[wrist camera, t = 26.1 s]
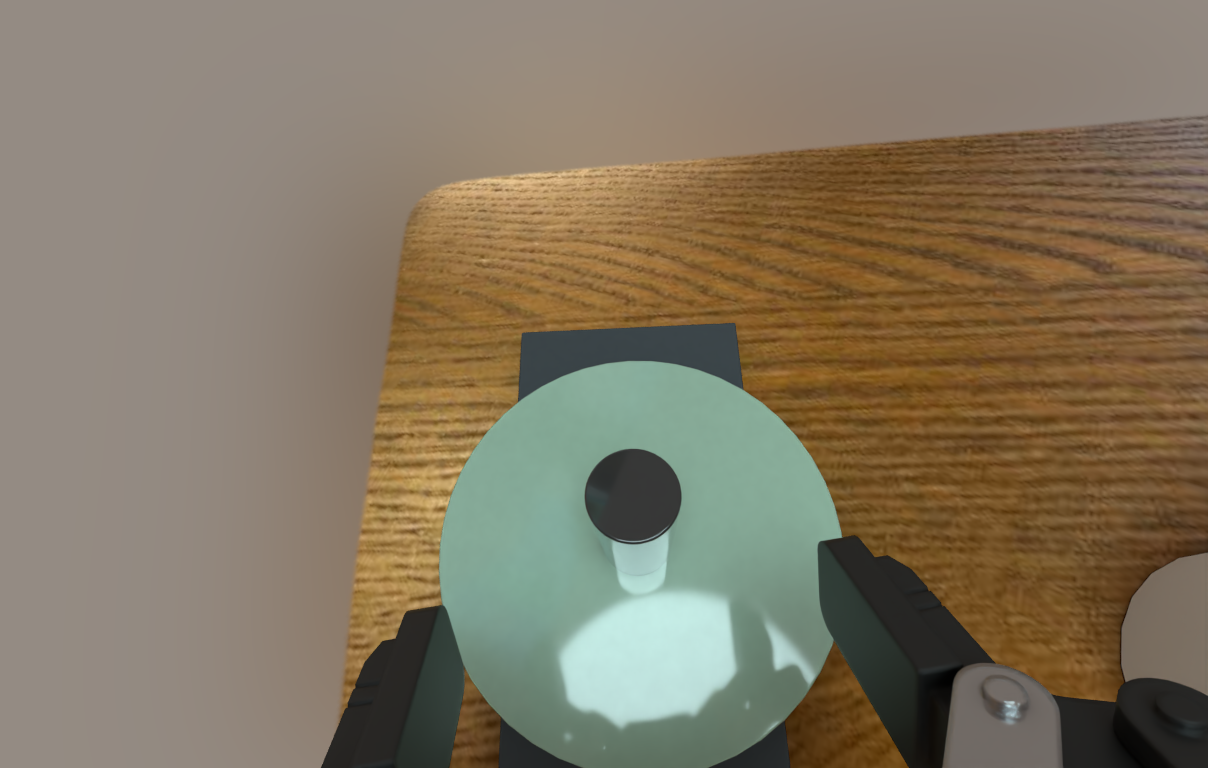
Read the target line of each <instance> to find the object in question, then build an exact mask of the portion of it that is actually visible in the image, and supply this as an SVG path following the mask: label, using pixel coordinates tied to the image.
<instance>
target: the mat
mask: <svg viewBox="0 0 1208 768" xmlns="http://www.w3.org/2000/svg"><path fill="white" fill-rule="evenodd" d="M624 361H655V362H663V363H671V364H677V365H681V366H685V367H689V368H693V369H697V370H700V371H703V372H705V373H708V374H711V375H714V376H716V377H719V378H721V379H723V380H725V381H727V382H729V383H731V384H733V385H735V386H737V387H739V388H741V389H742V390H743V382H742V374H741V366H740V358H739V350H738V342H737V334H736V326H735V323H725V324H704V325H682V326H660V327H638V328H616V329H594V330H572V331H550V332H528V333H522V340H521V359H520V377H519V396H518V402H519V401H520V400H522V399H523V398H525V397H526V396H528V395H529V394H531V393H532V392H534V391H535V390H537V389H539V388H540V387H542V386H544V385H546V384H548V383H550V382H552V381H554V380H556V379H558V378H560V377H562V376H564V375H567V374H570V373H573V372H576V371H578V370H581V369H584V368H589V367H593V366H597V365H602V364H606V363H615V362H624ZM498 768H581V767H579V766H576V765H574V764H571V763H569V762H566V761H563V760H561V759H558V758H557V757H555V756H553V755H551V754H550V753H548V752H546V751H544V750H543V749H541V748H539V747H537V746H536V745H534V744H532V743H531V742H530V741H528V740H527V739H526V738H525V737H523V736H522V735H521V734H519V733H518V732H517V731H516V730H514V729H513V728H512V727H511V726H509V725H508V724H507V723H506V722H505V721H504V720H503V719H502V717H501V730H500V749H499V767H498ZM709 768H790V760H789V752H788V744H787V736H786V728H785V721H783V722H782V723H781V724H780V725H779V726H778V727H776V728H775V729H774V730H773V731H772V732H771V733H769V734H768V735H767V736H766V737H765V738H764V739H762V740H761V741H759V742H758V743H756V744H755V745H753V746H751V747H750V748H748V749H747V750H745V751H743V752H742V753H740V754H739V755H737V756H735V757H733V758H730V759H728V760H726V761H723V762H721V763H719V764H716V765H714V766H712V767H709Z"/></svg>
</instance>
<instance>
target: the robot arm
mask: <svg viewBox="0 0 1208 768" xmlns="http://www.w3.org/2000/svg"><path fill="white" fill-rule="evenodd" d="M817 553H818V579H819V601H820V607H821V612H822V615H823V619H824V621H825V624H826V626H827V629H828V631H829V632H830V634H831V636H832V638H833V639H834V641H835V643H836V644H837V646H838V648H839V649H840V651H841V653H842V655H843V656H844V658H845V660H846V661H847V663H848V665H849V666H850V668H851V670H852V672H853V673H854V675H855V677H856V678H857V680H858V682H859V683H860V685H861V687H862V689H863V690H864V692H865V694H866V695H867V697H868V699H869V700H870V702H871V704H872V706H873V707H874V709H875V711H876V712H877V714H878V716H879V717H880V719H881V721H882V723H883V724H884V726H885V728H886V729H887V731H888V733H889V734H890V736H891V738H892V740H893V741H894V743H895V745H896V746H897V748H898V750H899V751H900V753H901V755H902V757H903V758H904V760H905V762H906V763H907V765H908V767H909V768H1208V696H1207V695H1205V694H1203V693H1202V692H1200V691H1197V690H1195V689H1193V688H1191V687H1188V686H1185V685H1182V684H1180V683H1176V682H1172V681H1169V680H1164V679H1158V678H1137V679H1132V680H1130V681H1127V682H1125V683H1124V684H1123V685H1122V686H1121V687H1120V689H1119V690H1118V695H1117V700H1116V702H1107V701H1097V700H1088V699H1078V698H1068V697H1061V696H1056V695H1052V694H1050V693H1049V692H1048V690H1047V689H1046V688H1045V687H1043V686H1042V685H1041V684H1040V683H1039V682H1037V681H1036V680H1034V679H1033V678H1032V677H1030V676H1028V675H1026V674H1024V673H1023V672H1020V671H1018V670H1016V669H1013V668H1010V667H1007V666H1003V665H999V664H996V663H995V662H994V661H993V660H992V659H991V658H990V657H989V656H988V654H987V653H986V652H985V651H984V650H983V649H982V648H981V647H980V645H979V644H978V643H977V642H976V641H975V640H974V639H973V638H972V637H971V635H970V634H969V633H968V632H967V631H966V630H965V629H964V628H963V626H962V625H961V624H960V623H959V622H958V621H957V620H956V619H955V618H954V616H953V615H952V614H951V613H950V612H949V611H948V610H947V609H946V607H945V606H943V607H942V605H941V602H940V601H939V600H938V599H937V597H936V596H935V595H934V594H933V593H932V592H931V591H928V588H927V586H926V585H925V584H924V583H923V582H922V581H921V580H920V578H919V577H918V576H917V575H916V574H915V573H914V572H913V571H912V569H910V568H908V567H907V566H905V565H903V564H901V563H900V562H898V561H896V560H895V559H893V558H891V557H890V556H888V555H886V556H881V557H874V556H873V554H872V553H871V552H870V551H869V550H868V548H867V547H866V546H865V545H864V544H863V542H862V541H861V540H860V539H859V538H858V537H857V536H855V535H854V536H848V537H842V538H836V539H830V540H824V541H820V542H819V543H818V548H817ZM355 685H356V688H355V689H353V692H352V694H351V697H350V699H349V701H348V708H346V709H345V711H344V713H343V716H342V718H341V721H340V723H339V726H338V728H337V730H336V733H335V735H334V738H333V740H332V742H331V745H330V747H329V750H328V752H327V755H326V757H325V759H324V762H323V764H322V767H321V768H449V766H450V760H451V755H452V750H453V745H454V740H455V735H456V730H457V725H458V720H459V714H460V709H461V704H462V699H463V694H464V667H463V662H462V658H461V655H460V651H459V648H458V645H457V641H456V638H455V635H454V631H453V628H452V625H451V621H450V618H449V615H448V612H447V609H446V608H445V606H444V605H439V606H433V607H428V608H422V609H416V610H410V611H407V612H406V613H405V615H404V617H403V620H402V623H401V625H400V628H399V631H398V634H397V636H396V639H392V640H386V641H382V642H381V644H380V645H379V646H378V647H377V648H376V649H375V651H374V652H373V653H372V654H371V655H370V657H369V658H368V659H367V660H366V661H365V663H364V665H363V668H362V670H361V672H360V675H359V677H358V680H357V682H356V684H355Z"/></svg>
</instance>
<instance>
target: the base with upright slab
mask: <svg viewBox="0 0 1208 768" xmlns="http://www.w3.org/2000/svg"><path fill="white" fill-rule="evenodd" d="M1121 666H1122V670H1123V674H1124V678H1125V682H1127V681H1130V680H1132V679H1137V678H1158V679H1164V680H1169V681H1172V682H1176V683H1180V684H1182V685H1185V686H1188V687H1191V688H1193V689H1195V690H1197V691H1200V692H1202V693H1203V694H1205V695H1207V696H1208V553H1203V554H1198V555H1193V556H1188V557H1183V558H1178V559H1176V560H1175V561H1173V562H1171V563H1169V564H1167V565H1166V566H1164V567H1162V568H1160V569H1159V570H1157V571H1155V572H1153V573H1152V574H1151V575H1150V576H1149V577H1148V578H1147V580H1146V581H1145V582H1144V583H1143V584H1142V586H1141V587H1140V588H1139V589H1138V590H1137V592H1136V593H1135V594H1134V595H1133V597H1132V599H1131V602H1130V605H1129V608H1128V611H1127V614H1126V617H1125V619H1124V622H1123V625H1122V643H1121Z"/></svg>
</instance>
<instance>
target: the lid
mask: <svg viewBox="0 0 1208 768" xmlns="http://www.w3.org/2000/svg"><path fill="white" fill-rule="evenodd" d="M836 538H842V533H841V529H840V525H839V521H838V517H837V513H836V509H835V506H834V503H833V501H832V498H831V496H830V493H829V491H828V488H827V485H826V483H825V481H824V479H823V477H822V475H821V473H820V471H819V470H818V468H817V466H816V464H815V462H814V461H813V459H812V457H811V456H810V454H809V453H808V452H807V450H806V449H805V447H804V446H803V445H802V443H801V442H800V440H799V439H798V438H797V436H796V435H795V434H794V433H793V432H792V431H791V430H790V429H789V428H788V427H787V426H786V424H785V423H784V422H783V421H782V420H781V419H780V418H779V417H778V416H777V415H775V414H774V413H773V412H772V411H771V410H770V409H768V408H767V407H766V406H765V405H764V404H763V403H761V402H760V401H759V400H757V399H756V398H754V397H753V396H751V395H750V394H748V393H747V392H745V391H744V390H742V389H741V388H739V387H737V386H735V385H733V384H731V383H729V382H727V381H725V380H723V379H721V378H719V377H716V376H714V375H711V374H708V373H705V372H703V371H700V370H697V369H693V368H689V367H685V366H681V365H677V364H671V363H663V362H655V361H624V362H615V363H606V364H602V365H597V366H593V367H589V368H584V369H581V370H578V371H576V372H573V373H570V374H567V375H564V376H562V377H560V378H558V379H556V380H554V381H552V382H550V383H548V384H546V385H544V386H542V387H540V388H539V389H537V390H535V391H534V392H532V393H531V394H529V395H528V396H526V397H525V398H523V399H522V400H520V401H519V402H518V403H517V404H516V405H514V406H513V407H512V408H511V409H510V410H508V411H507V412H506V413H505V414H504V415H503V416H502V417H501V418H500V419H499V420H498V421H497V422H496V423H495V424H494V425H493V426H492V427H491V428H490V429H489V431H488V432H487V433H486V434H485V436H484V437H483V438H482V440H481V441H480V442H479V444H478V445H477V446H476V448H475V449H474V450H473V452H472V454H471V456H470V457H469V459H468V461H467V462H466V464H465V466H464V468H463V469H462V471H461V473H460V476H459V478H458V480H457V483H456V485H455V487H454V490H453V492H452V494H451V497H450V501H449V504H448V508H447V511H446V515H445V518H444V523H443V529H442V536H441V542H440V556H439V579H440V589H441V600H442V605H444V606H445V608H446V609H447V612H448V615H449V618H450V621H451V625H452V628H453V631H454V635H455V638H456V641H457V645H458V648H459V651H460V655H461V658H462V662H463V665H464V667H465V669H466V671H467V673H468V675H469V677H470V679H471V680H472V682H473V683H474V684H475V686H476V687H477V689H478V690H479V691H480V693H481V694H482V696H483V697H484V698H485V700H486V701H487V703H488V704H489V705H490V706H491V707H492V708H493V709H494V710H495V711H496V712H497V713H498V714H499V715H500V716H501V717H502V719H503V720H504V721H505V722H506V723H507V724H508V725H509V726H511V727H512V728H513V729H514V730H516V731H517V732H518V733H519V734H521V735H522V736H523V737H525V738H526V739H527V740H528V741H530V742H531V743H532V744H534V745H536V746H537V747H539V748H541V749H543V750H544V751H546V752H548V753H550V754H551V755H553V756H555V757H557V758H558V759H561V760H563V761H566V762H569V763H571V764H574V765H576V766H579V767H581V768H709V767H712V766H714V765H716V764H719V763H721V762H723V761H726V760H728V759H730V758H733V757H735V756H737V755H739V754H740V753H742V752H743V751H745V750H747V749H748V748H750V747H751V746H753V745H755V744H756V743H758V742H759V741H761V740H762V739H764V738H765V737H766V736H767V735H768V734H769V733H771V732H772V731H773V730H774V729H775V728H776V727H778V726H779V725H780V724H781V723H782V722H783V721H785V720H786V718H787V717H788V716H789V715H790V714H791V713H792V711H793V710H794V709H795V708H796V707H797V706H798V704H799V703H800V702H801V701H802V700H803V699H804V697H805V696H806V694H807V693H808V691H809V690H810V688H811V686H812V685H813V683H814V682H815V680H816V678H817V677H818V675H819V674H820V672H821V670H822V668H823V665H824V663H825V661H826V659H827V656H828V654H829V652H830V650H831V647H832V645H833V642H834V639H833V638H832V636H831V634H830V632H829V631H828V629H827V626H826V624H825V621H824V619H823V615H822V612H821V607H820V601H819V579H818V553H817V548H818V543H819V542H820V541H824V540H830V539H836Z"/></svg>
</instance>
